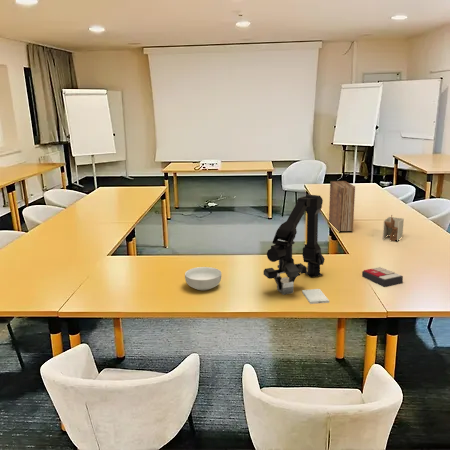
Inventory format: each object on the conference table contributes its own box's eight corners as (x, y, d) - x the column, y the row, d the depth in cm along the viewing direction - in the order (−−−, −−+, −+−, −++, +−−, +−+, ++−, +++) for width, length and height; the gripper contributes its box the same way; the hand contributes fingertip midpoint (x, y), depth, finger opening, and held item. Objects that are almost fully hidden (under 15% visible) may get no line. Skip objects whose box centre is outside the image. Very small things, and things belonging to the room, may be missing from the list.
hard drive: (302, 290, 197) (310, 301, 185) (320, 288, 197) (329, 300, 185) (302, 293, 197) (310, 305, 185) (320, 292, 198) (329, 303, 186)
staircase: (382, 240, 269) (384, 214, 265) (387, 236, 277) (389, 210, 273) (397, 243, 264) (399, 215, 260) (402, 238, 273) (404, 212, 268)
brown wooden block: (353, 232, 286) (355, 186, 278) (338, 233, 286) (340, 187, 278) (341, 222, 310) (343, 180, 303) (328, 223, 310) (330, 180, 302)
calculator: (379, 266, 217) (403, 274, 203) (379, 274, 218) (403, 283, 204) (361, 269, 212) (384, 278, 199) (361, 278, 213) (384, 287, 200)
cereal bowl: (209, 297, 194) (209, 282, 192) (178, 290, 202) (177, 276, 200) (228, 283, 208) (228, 269, 206) (198, 278, 216) (197, 264, 214)
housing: (277, 289, 200) (277, 278, 198) (287, 288, 201) (287, 276, 200) (283, 294, 194) (283, 282, 193) (293, 293, 196) (293, 281, 195)
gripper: (274, 264, 183) (273, 299, 187) (313, 258, 189) (313, 292, 193) (262, 256, 193) (263, 289, 197) (301, 250, 199) (300, 283, 203)
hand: (285, 288), depth 198 cm, fingers closed on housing, 5 cm apart
